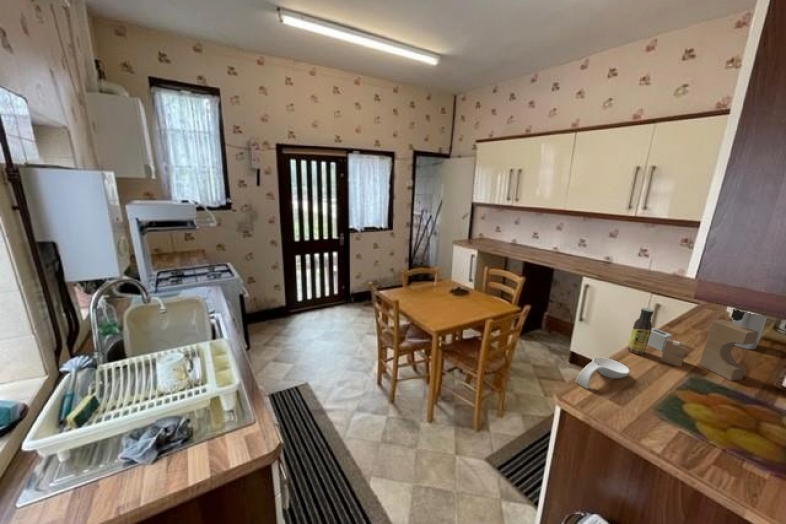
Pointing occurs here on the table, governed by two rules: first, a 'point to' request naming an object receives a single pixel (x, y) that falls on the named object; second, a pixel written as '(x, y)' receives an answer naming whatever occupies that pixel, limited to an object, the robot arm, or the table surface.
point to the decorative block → (725, 348)
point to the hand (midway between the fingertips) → (736, 319)
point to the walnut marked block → (673, 352)
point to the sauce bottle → (641, 332)
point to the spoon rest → (601, 370)
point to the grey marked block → (658, 339)
